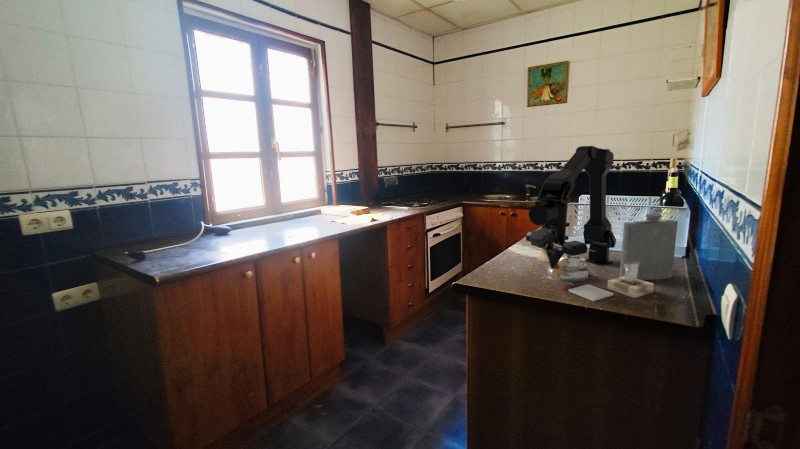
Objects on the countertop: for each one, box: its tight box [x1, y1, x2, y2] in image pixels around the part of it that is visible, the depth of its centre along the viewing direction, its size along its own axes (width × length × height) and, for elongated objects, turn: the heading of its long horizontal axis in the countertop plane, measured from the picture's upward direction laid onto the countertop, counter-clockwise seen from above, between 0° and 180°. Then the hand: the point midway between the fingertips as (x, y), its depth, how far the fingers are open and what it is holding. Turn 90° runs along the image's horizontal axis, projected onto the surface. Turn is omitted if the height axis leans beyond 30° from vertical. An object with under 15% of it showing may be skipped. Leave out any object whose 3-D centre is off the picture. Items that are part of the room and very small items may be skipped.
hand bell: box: [537, 249, 550, 264], centre depth 134 cm, size 8×8×16 cm
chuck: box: [551, 253, 581, 280], centre depth 113 cm, size 18×7×8 cm, turn 141°
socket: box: [606, 276, 655, 299], centre depth 104 cm, size 8×8×2 cm
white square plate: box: [568, 283, 614, 302], centre depth 103 cm, size 8×8×1 cm
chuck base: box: [547, 265, 589, 282], centre depth 118 cm, size 12×12×2 cm
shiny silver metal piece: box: [624, 261, 640, 286], centre depth 103 cm, size 5×3×8 cm, turn 115°
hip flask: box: [619, 213, 679, 281], centre depth 111 cm, size 16×4×20 cm, turn 92°
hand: (553, 268), depth 112 cm, fingers closed
